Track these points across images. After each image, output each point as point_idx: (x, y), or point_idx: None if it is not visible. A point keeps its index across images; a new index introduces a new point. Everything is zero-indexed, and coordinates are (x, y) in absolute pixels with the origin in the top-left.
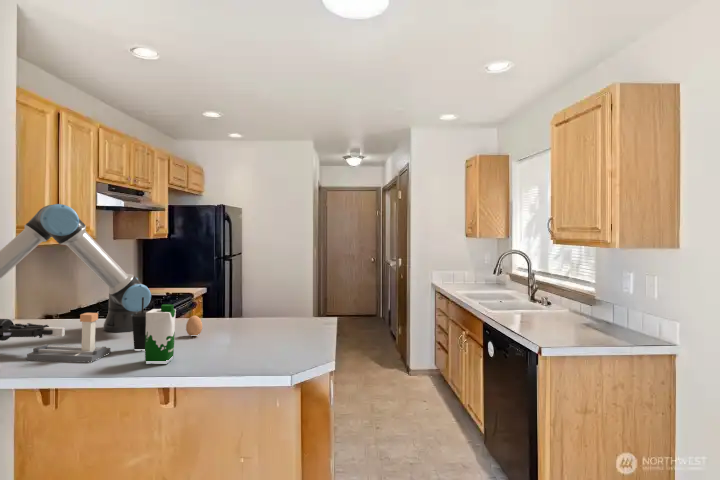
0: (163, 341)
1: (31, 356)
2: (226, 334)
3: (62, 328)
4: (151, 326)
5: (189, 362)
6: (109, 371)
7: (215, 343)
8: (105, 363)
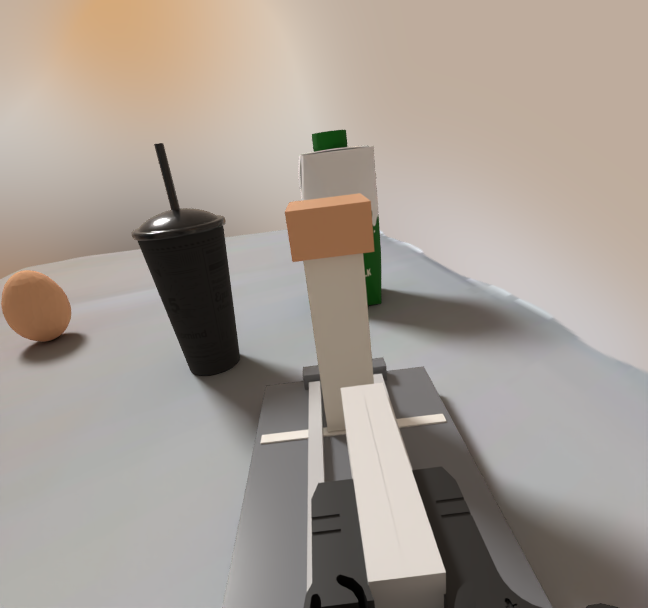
0: None
1: None
2: None
3: (374, 386)
4: (376, 189)
5: None
6: (478, 320)
7: None
8: (411, 358)
